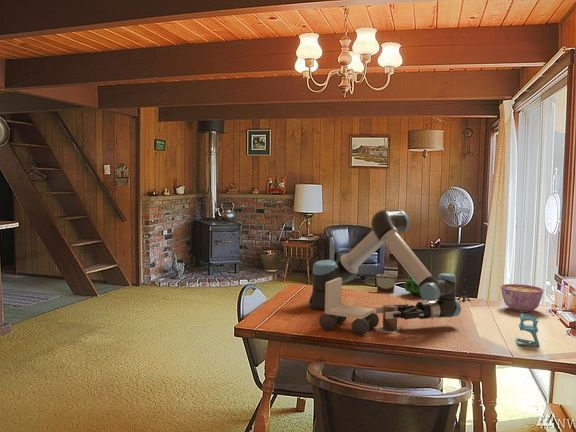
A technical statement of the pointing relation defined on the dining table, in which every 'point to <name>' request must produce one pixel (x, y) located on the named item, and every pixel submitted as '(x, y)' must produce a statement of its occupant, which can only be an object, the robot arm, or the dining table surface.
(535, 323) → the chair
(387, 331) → the pad
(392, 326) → the cylindrical block
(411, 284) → the piggy bank
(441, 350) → the dining table surface
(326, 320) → the trolley
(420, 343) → the dining table surface
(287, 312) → the dining table surface
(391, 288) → the food container
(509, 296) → the bowl of food
